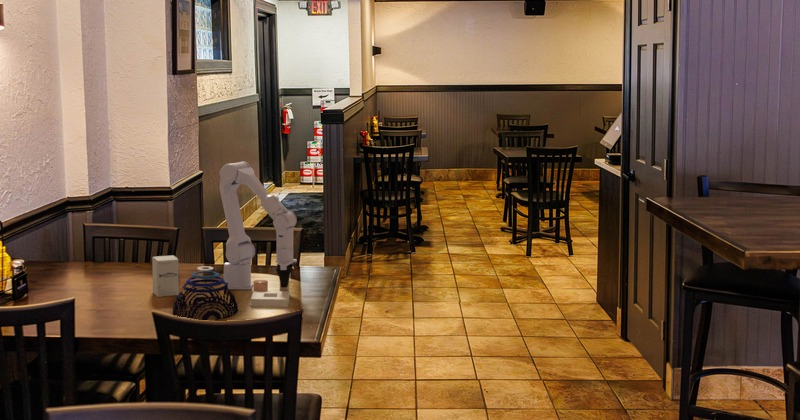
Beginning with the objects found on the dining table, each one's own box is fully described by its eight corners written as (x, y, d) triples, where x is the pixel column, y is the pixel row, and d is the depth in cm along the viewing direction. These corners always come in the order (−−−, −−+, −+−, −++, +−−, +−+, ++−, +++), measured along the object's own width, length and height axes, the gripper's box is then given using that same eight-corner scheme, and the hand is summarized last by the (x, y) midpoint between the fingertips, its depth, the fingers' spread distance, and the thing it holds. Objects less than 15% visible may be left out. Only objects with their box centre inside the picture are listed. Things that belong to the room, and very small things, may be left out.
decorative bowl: (178, 324, 261) (177, 277, 259) (168, 306, 279) (167, 263, 277) (243, 318, 269) (243, 273, 267) (229, 301, 287) (229, 259, 285)
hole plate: (250, 306, 281) (250, 299, 281) (253, 298, 291) (253, 291, 291) (287, 306, 282) (287, 299, 282) (289, 298, 292) (289, 291, 292)
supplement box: (157, 297, 289) (156, 260, 286) (152, 292, 295) (151, 256, 293) (179, 295, 292) (178, 259, 290) (174, 290, 298) (173, 254, 296)
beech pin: (279, 295, 296) (279, 272, 294) (280, 293, 299) (280, 270, 298) (288, 295, 296) (289, 272, 295) (289, 293, 299) (289, 270, 298)
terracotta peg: (252, 297, 292) (252, 283, 292) (254, 293, 297) (254, 279, 296) (267, 297, 293) (267, 283, 292) (268, 293, 297) (268, 279, 297)
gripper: (295, 251, 288) (295, 291, 290) (297, 242, 302) (297, 280, 304) (274, 251, 287) (274, 291, 290) (277, 242, 302) (277, 280, 304)
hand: (284, 285), depth 297 cm, fingers closed on beech pin, 3 cm apart
